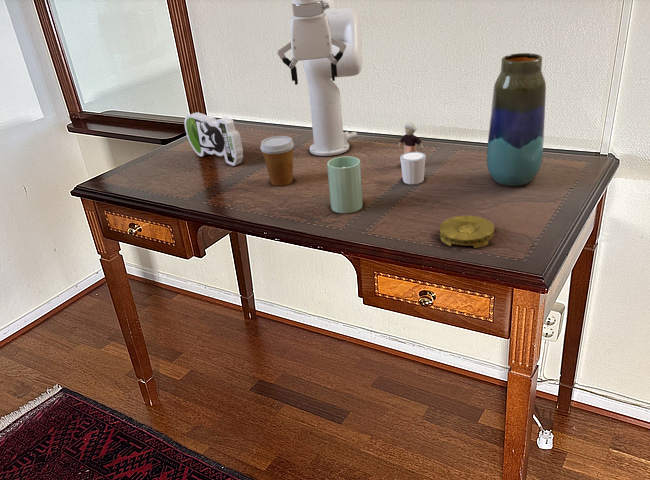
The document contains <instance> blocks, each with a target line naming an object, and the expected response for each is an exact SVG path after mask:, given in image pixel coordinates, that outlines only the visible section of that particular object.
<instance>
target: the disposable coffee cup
mask: <svg viewBox="0 0 650 480" xmlns="http://www.w3.org/2000/svg"><path fill="white" fill-rule="evenodd" d="M294 146H295V142H294V141H293V139H292V137H290V136H286V135H275V136H269V137H267V138H265V139H262V140H261V142H260V146H259V148H260V150H261V152H262V154H263V159H264V163H265V165H266V170H267V174H268V176H269V181H270V184H271V185H273V186H277V187H280V186H281V187H282V186H287V185H290V184H292V182H293V179H294V178H293V177H294V176H293V175H294V173H293V172H294V171H293V170H294Z"/></svg>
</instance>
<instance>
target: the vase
mask: <svg viewBox="0 0 650 480" xmlns="http://www.w3.org/2000/svg"><path fill="white" fill-rule="evenodd" d="M542 67H543V56H542V55H540V54H538V53H530V52H529V53H528V52H521V53H520V52H519V53H512V54H508V55H505V56H503V57H502V58H501V62H500V71H499V74H498V76H497V78H496V80H495V82H494V85H493V92H492V99H491V100H492V101H491V109H490V118H489V128H488V137H487V148H486V166H487V171H488V173H489V175H490V176H491V178H492V179H493V180H494V182H495V183H498V184H500V185H502V186H506V187H507V186H508V187H520V186H525V185H526V184H528V183H530V182H532V181H533V180H534V179H535V177H536V176H537V175H538V173H539V172H540V169H541V167H542V162H543V157H544V156H543V154H544V145H545V144H544V143H545V142H544V141H545V122H546V121H545V120H546V101H547V99H546V98H547V96H546V95H547V82H546V79H545V76H544V73H543V71H542V70H543V69H542Z"/></svg>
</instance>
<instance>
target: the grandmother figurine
mask: <svg viewBox="0 0 650 480" xmlns="http://www.w3.org/2000/svg"><path fill="white" fill-rule="evenodd" d="M404 129H405V131H404V132H405V134H404V135H403V136H402V137H401V138H400V139H399V142H398V148H402V147H403V154H404V153H408V152H417V146H418V147H419V149H420V150H423V149H424V145H423V140H422V139H420V138H419V137H418V136H416V135H415V134H414V133H415V132H416V131H417V130H418V128H417V126H416V125H415V124H414V123H413V122H411V121H410V122H406V123H405V124H404ZM403 144H404V145H403ZM416 145H417V146H416Z"/></svg>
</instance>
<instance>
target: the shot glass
mask: <svg viewBox="0 0 650 480" xmlns="http://www.w3.org/2000/svg"><path fill="white" fill-rule="evenodd" d="M426 157H427V154H426V153H423V152H420V151H416V152H408V153H404V152H403V153H402V154H401V155H400V156H399V159H400V166H401V168H400V169H401V177H402V181H403V183H404V184H407V185H419V184H422V183H423V182H424V179H425V169H426V159H427V158H426Z"/></svg>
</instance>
